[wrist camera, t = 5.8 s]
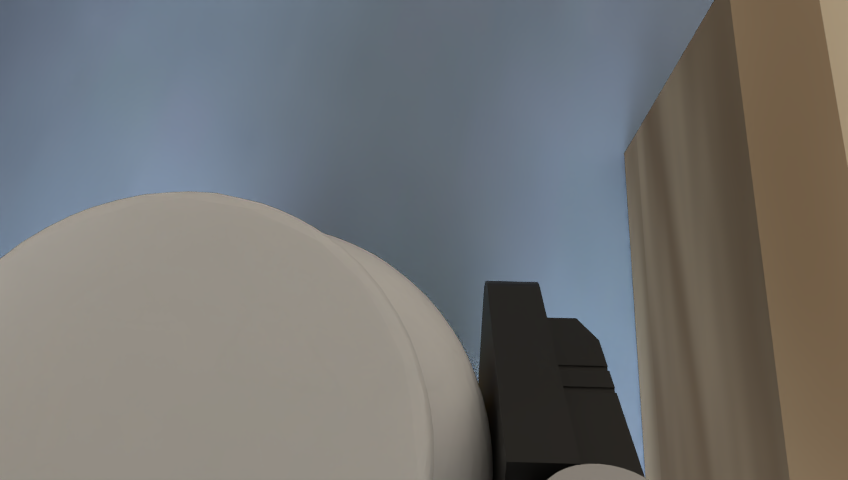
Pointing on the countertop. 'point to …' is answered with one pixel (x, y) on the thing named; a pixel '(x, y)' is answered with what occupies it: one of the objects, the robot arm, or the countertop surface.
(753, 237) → the post socket
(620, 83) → the countertop surface
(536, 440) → the robot arm
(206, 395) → the supplement bottle
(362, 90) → the countertop surface
